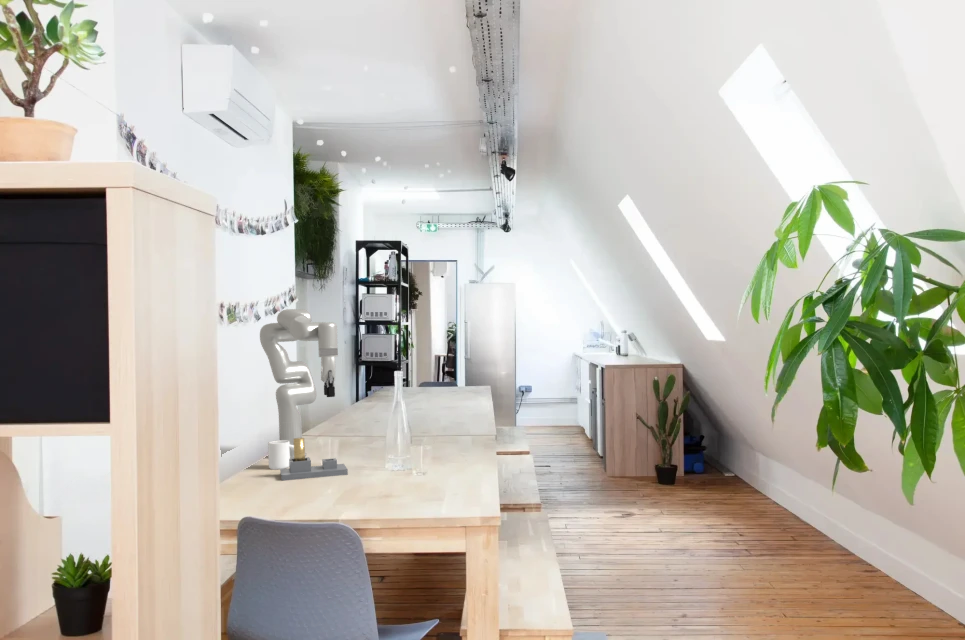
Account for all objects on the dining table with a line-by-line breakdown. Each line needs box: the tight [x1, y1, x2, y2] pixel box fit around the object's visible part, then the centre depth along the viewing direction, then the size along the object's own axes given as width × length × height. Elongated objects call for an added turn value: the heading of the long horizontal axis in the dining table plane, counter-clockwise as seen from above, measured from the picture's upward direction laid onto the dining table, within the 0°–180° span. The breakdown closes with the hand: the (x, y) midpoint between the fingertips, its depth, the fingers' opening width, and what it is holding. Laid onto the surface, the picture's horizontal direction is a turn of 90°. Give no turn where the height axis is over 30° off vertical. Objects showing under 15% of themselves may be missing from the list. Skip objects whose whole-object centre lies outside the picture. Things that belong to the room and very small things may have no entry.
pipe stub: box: [294, 437, 306, 462], centre depth 275 cm, size 4×4×12 cm
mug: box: [267, 440, 294, 470], centre depth 292 cm, size 12×8×10 cm
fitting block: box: [279, 456, 349, 481], centre depth 276 cm, size 12×24×6 cm, turn 108°
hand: (329, 395), depth 291 cm, fingers open, 9 cm apart
